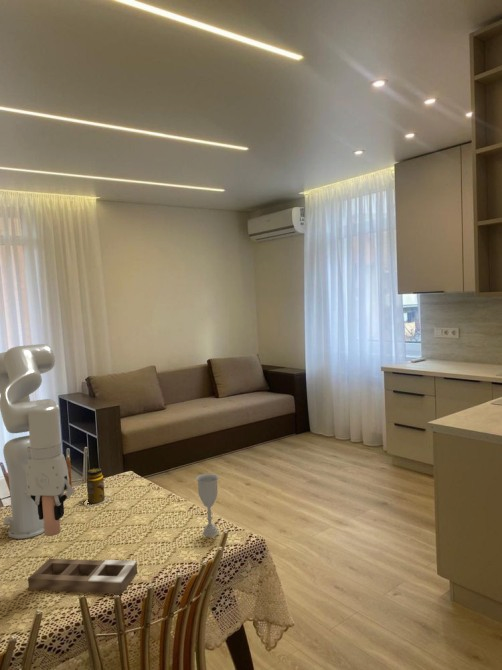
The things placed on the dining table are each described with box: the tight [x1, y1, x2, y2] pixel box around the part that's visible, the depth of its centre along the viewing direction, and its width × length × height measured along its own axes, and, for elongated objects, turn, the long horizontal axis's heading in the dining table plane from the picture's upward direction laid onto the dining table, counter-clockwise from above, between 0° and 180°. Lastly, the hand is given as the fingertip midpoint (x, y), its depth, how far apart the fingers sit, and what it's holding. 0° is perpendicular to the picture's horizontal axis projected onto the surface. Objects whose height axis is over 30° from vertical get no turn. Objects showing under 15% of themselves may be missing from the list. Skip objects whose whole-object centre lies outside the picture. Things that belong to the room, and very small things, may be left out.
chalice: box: [195, 473, 219, 538], centre depth 156 cm, size 7×7×18 cm
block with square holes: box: [27, 558, 138, 595], centre depth 133 cm, size 26×10×3 cm, turn 81°
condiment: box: [79, 467, 109, 508], centre depth 186 cm, size 7×8×12 cm
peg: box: [42, 496, 62, 537], centre depth 133 cm, size 4×4×12 cm
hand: (51, 517), depth 133 cm, fingers closed on peg, 4 cm apart
